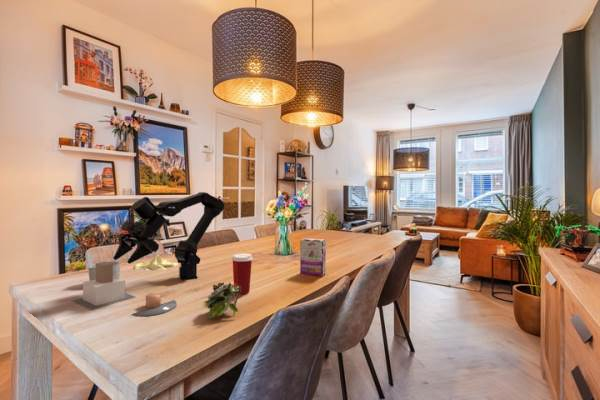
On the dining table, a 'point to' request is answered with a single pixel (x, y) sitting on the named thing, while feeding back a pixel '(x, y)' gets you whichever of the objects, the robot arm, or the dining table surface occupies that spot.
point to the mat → (91, 306)
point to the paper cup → (242, 272)
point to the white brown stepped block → (103, 286)
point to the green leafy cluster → (221, 299)
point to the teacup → (115, 270)
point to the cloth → (155, 264)
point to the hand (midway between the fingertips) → (121, 261)
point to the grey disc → (156, 306)
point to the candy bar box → (313, 256)
